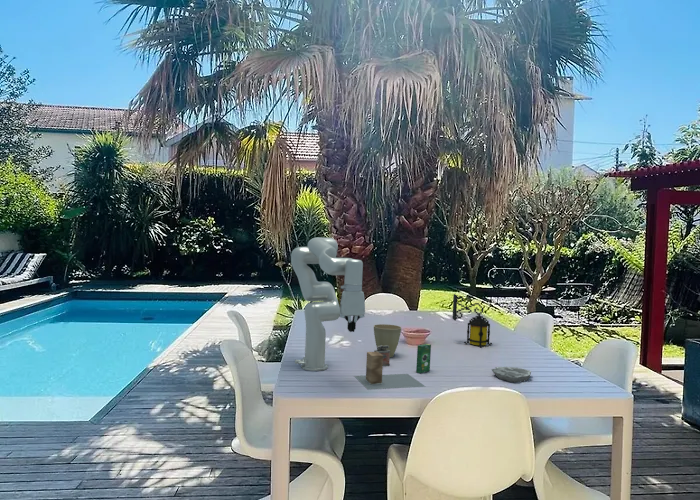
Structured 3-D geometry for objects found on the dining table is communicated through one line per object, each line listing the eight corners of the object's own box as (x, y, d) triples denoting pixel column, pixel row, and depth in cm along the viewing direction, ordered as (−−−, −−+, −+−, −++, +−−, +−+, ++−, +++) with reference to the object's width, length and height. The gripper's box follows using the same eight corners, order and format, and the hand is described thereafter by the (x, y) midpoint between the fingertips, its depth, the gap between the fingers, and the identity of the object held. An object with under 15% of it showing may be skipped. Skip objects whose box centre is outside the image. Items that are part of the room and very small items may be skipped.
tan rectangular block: (370, 384, 219) (371, 355, 219) (365, 379, 226) (366, 352, 225) (381, 383, 220) (383, 355, 220) (376, 379, 227) (377, 351, 227)
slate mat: (367, 391, 212) (367, 389, 212) (353, 377, 231) (353, 376, 231) (425, 388, 219) (425, 386, 219) (407, 375, 238) (407, 373, 238)
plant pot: (398, 360, 266) (400, 330, 265) (370, 358, 269) (371, 327, 268) (401, 354, 280) (402, 325, 280) (374, 352, 283) (375, 323, 283)
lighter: (375, 366, 252) (375, 346, 252) (372, 364, 255) (373, 344, 255) (390, 366, 254) (391, 346, 254) (388, 364, 258) (389, 344, 257)
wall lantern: (495, 348, 304) (497, 298, 303) (454, 347, 304) (457, 296, 303) (488, 342, 320) (490, 294, 319) (449, 341, 321) (452, 293, 320)
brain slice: (501, 370, 255) (501, 364, 255) (536, 377, 244) (536, 371, 244) (484, 378, 240) (484, 371, 240) (520, 386, 229) (520, 379, 229)
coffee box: (425, 369, 250) (426, 342, 249) (430, 371, 248) (431, 343, 247) (415, 372, 244) (416, 345, 243) (420, 373, 242) (421, 346, 241)
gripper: (338, 289, 213) (336, 333, 214) (372, 289, 217) (370, 332, 218) (333, 287, 220) (332, 329, 221) (367, 287, 224) (365, 329, 225)
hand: (351, 331), depth 219 cm, fingers closed
